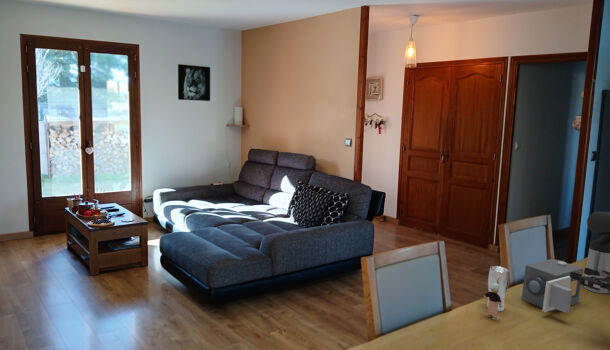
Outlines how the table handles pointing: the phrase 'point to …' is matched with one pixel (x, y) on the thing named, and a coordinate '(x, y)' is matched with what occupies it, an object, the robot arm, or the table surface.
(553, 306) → the side door
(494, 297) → the grandmother figurine
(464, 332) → the table surface
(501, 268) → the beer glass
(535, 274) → the box
